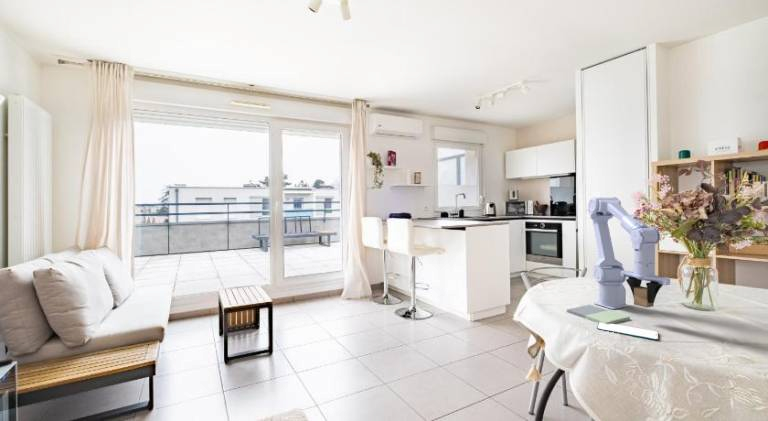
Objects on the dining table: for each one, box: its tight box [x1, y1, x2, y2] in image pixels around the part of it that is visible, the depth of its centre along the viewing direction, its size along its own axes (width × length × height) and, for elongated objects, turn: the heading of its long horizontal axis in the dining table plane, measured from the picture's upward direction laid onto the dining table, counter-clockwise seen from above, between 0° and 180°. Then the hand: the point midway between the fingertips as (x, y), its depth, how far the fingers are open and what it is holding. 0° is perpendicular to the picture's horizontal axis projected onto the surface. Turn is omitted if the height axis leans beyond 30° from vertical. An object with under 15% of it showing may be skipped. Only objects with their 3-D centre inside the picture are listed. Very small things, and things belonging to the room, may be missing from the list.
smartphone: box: [596, 322, 659, 342], centre depth 111 cm, size 8×1×16 cm
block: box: [633, 286, 655, 309], centre depth 118 cm, size 4×4×6 cm
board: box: [566, 304, 630, 324], centre depth 125 cm, size 13×15×1 cm
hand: (643, 300), depth 118 cm, fingers closed on block, 4 cm apart
